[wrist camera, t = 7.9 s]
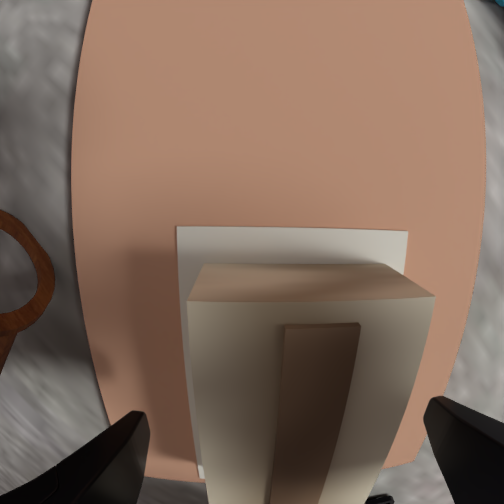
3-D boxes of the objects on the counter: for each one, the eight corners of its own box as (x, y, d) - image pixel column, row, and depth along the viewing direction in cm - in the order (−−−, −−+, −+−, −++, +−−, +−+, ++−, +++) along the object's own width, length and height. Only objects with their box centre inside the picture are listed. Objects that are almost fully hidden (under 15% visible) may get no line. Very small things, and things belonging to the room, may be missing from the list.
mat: (410, 455, 12) (414, 462, 12) (131, 466, 12) (128, 474, 11) (453, -8, 7) (460, -13, 7) (110, -38, 7) (104, -46, 6)
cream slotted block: (385, 263, 9) (440, 299, 6) (343, 461, 11) (361, 515, 8) (204, 263, 9) (185, 304, 6) (216, 467, 11) (212, 526, 8)
